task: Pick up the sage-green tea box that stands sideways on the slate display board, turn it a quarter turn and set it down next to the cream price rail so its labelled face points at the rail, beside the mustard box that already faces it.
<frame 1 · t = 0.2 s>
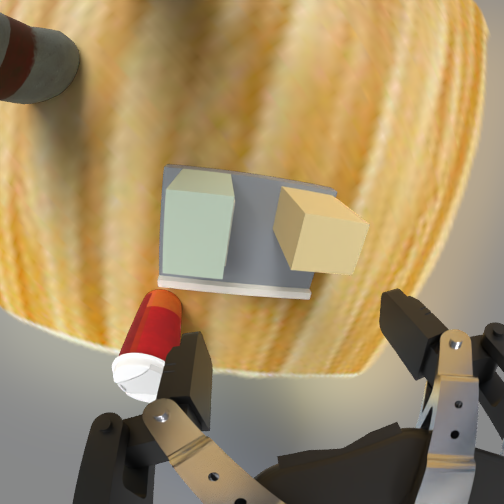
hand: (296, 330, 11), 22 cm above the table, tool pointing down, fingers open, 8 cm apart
bottle: (54, 69, 20), on the table
tea box: (202, 203, 29), point 2 cm above the table, touching display board
display board: (243, 227, 33), on the table
paper cup: (163, 304, 37), on the table
mustard box: (302, 211, 30), point 2 cm above the table, touching display board
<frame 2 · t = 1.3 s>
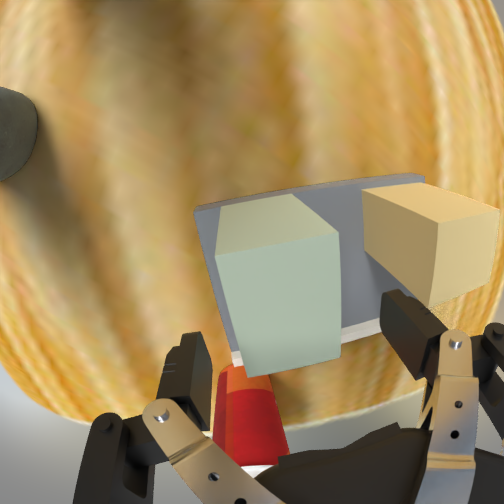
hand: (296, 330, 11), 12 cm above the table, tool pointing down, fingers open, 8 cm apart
bottle: (12, 134, 16), on the table
tea box: (264, 245, 20), point 2 cm above the table, touching display board
display board: (323, 258, 23), on the table
paper cup: (244, 377, 28), on the table
mustard box: (394, 215, 20), point 2 cm above the table, touching display board
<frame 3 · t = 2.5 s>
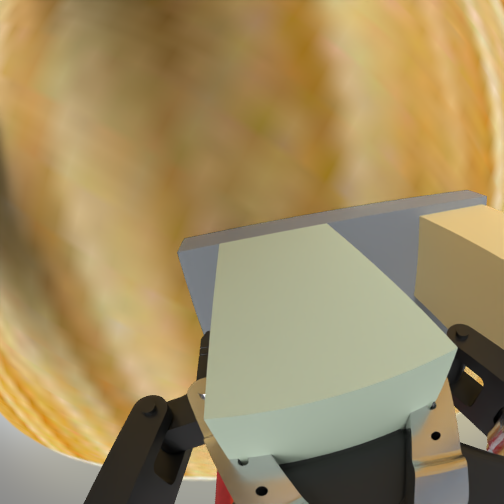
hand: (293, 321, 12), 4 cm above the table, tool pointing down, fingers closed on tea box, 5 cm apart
tea box: (284, 299, 14), point 2 cm above the table, touching display board, gripper
display board: (359, 305, 17), on the table
paper cup: (250, 432, 21), on the table
mustard box: (452, 248, 14), point 2 cm above the table, touching display board
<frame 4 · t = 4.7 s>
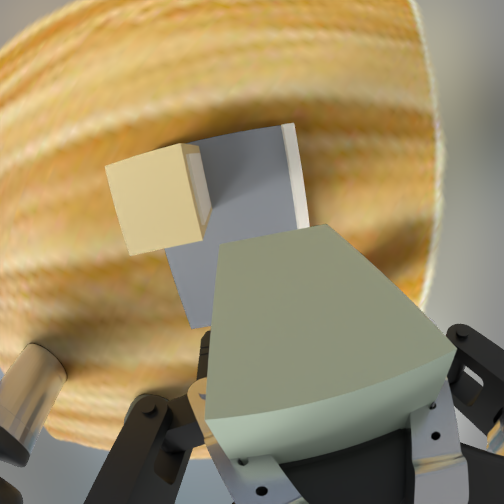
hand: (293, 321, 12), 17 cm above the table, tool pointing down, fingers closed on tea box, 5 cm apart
tea box: (284, 299, 14), point 15 cm above the table, touching gripper
display board: (229, 231, 28), on the table
mustard box: (178, 183, 24), point 2 cm above the table, touching display board
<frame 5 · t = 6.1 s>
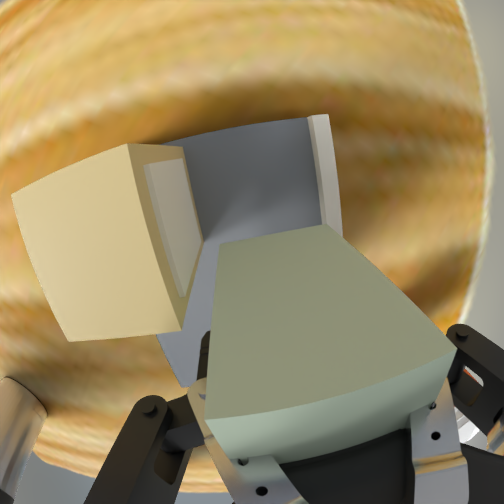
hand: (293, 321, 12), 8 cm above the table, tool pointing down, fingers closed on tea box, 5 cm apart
tea box: (284, 299, 14), point 6 cm above the table, touching gripper
display board: (229, 269, 20), on the table
paper cup: (381, 329, 24), on the table
mustard box: (154, 204, 16), point 2 cm above the table, touching display board
when the fingers open (5 cm above the table, at t = 7.2 s): tea box drops 1 cm, resting on display board.
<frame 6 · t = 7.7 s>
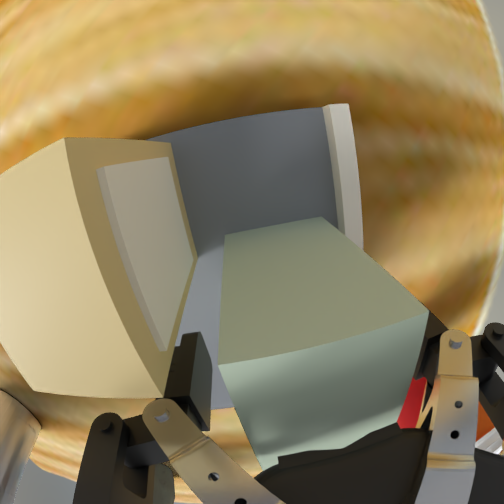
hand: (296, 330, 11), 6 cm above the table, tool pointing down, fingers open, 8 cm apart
bottle: (145, 466, 27), on the table
tea box: (283, 285, 15), point 2 cm above the table, touching display board
display board: (229, 286, 17), on the table
paper cup: (396, 345, 21), on the table
mustard box: (137, 213, 13), point 2 cm above the table, touching display board
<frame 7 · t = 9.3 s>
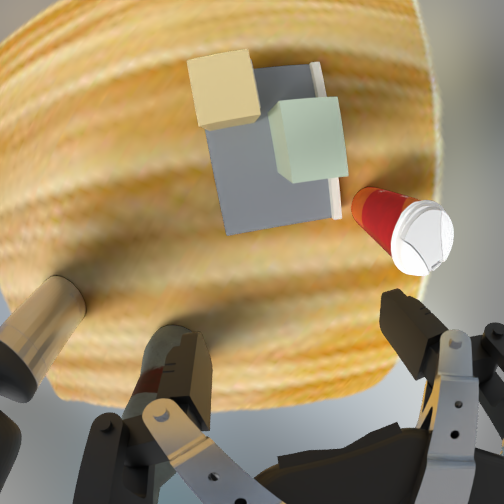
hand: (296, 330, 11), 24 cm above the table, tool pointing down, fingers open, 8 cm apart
bottle: (177, 343, 42), on the table
tea box: (294, 139, 29), point 2 cm above the table, touching display board
display board: (265, 146, 31), on the table
paper cup: (368, 206, 35), on the table
mustard box: (227, 101, 27), point 2 cm above the table, touching display board
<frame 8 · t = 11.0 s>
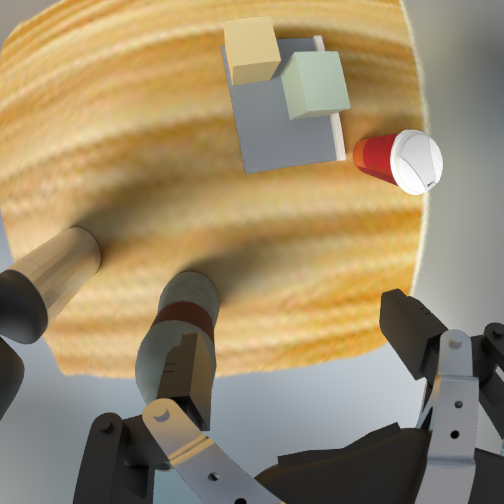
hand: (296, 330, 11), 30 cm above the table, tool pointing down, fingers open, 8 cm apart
bottle: (192, 292, 44), on the table
tea box: (302, 94, 32), point 2 cm above the table, touching display board
display board: (278, 101, 34), on the table
paper cup: (367, 155, 38), on the table
mustard box: (247, 63, 30), point 2 cm above the table, touching display board
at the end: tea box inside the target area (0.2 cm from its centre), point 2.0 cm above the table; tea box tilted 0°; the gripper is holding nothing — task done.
